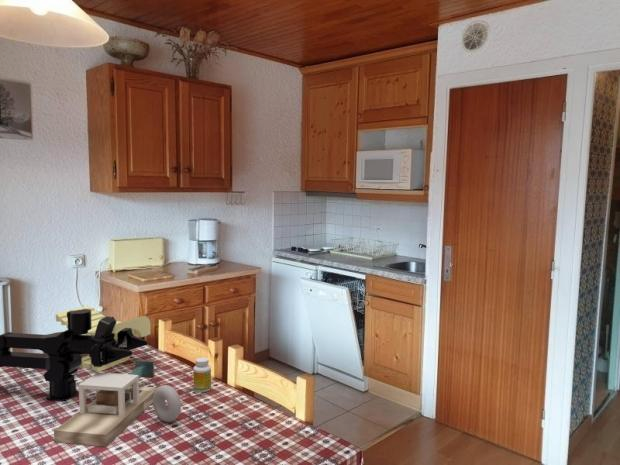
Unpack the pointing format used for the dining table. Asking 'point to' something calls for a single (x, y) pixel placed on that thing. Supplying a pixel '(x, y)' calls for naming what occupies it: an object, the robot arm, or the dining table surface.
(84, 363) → the slatted curved stool
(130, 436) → the dining table surface
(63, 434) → the deck
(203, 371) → the supplement bottle
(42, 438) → the dining table surface
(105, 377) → the tunnel
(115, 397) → the block
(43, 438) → the dining table surface
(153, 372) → the carriage
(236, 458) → the dining table surface
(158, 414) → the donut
